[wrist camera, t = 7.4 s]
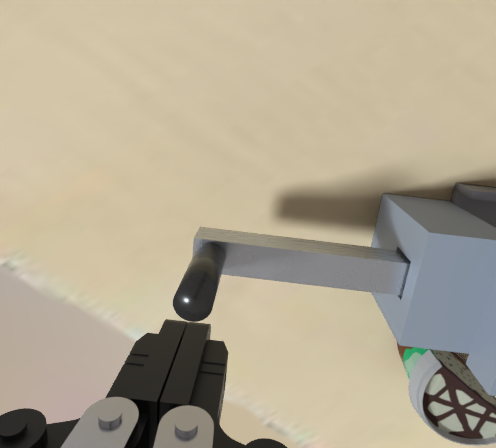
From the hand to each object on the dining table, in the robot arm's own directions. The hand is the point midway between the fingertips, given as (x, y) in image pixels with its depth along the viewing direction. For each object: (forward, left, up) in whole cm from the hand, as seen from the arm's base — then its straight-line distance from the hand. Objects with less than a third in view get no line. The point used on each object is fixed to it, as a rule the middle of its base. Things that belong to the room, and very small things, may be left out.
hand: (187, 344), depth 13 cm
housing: (+5, +18, -30) cm, 35 cm away
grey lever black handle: (+5, +9, -22) cm, 25 cm away
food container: (+19, +23, -30) cm, 43 cm away
